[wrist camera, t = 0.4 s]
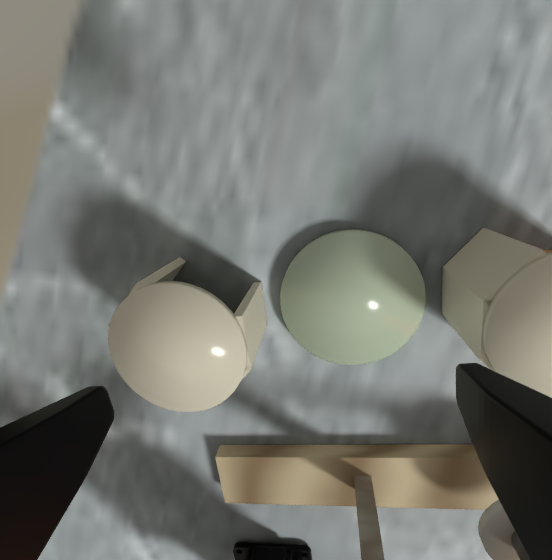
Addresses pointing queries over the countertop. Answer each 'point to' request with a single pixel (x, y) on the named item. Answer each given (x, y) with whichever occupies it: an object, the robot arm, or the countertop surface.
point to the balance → (370, 484)
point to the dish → (352, 297)
